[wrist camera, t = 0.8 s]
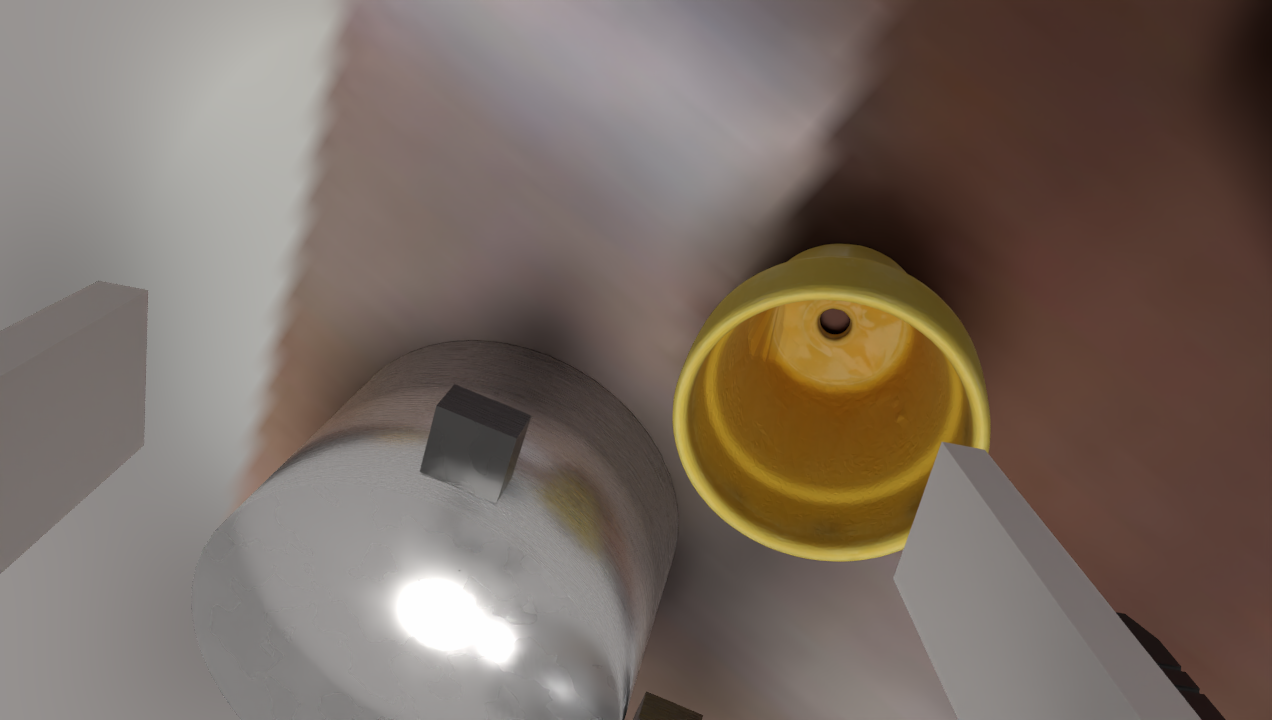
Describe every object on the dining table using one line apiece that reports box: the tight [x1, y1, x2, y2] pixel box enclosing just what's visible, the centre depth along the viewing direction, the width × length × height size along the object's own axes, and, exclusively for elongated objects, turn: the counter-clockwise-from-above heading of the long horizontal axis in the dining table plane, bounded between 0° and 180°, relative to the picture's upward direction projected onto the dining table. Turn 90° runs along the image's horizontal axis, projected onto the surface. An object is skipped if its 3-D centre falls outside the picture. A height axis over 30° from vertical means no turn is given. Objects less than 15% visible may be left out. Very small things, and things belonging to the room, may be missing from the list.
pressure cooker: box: [191, 341, 703, 720], centre depth 42 cm, size 24×21×12 cm
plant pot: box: [673, 244, 991, 562], centre depth 35 cm, size 10×10×10 cm
